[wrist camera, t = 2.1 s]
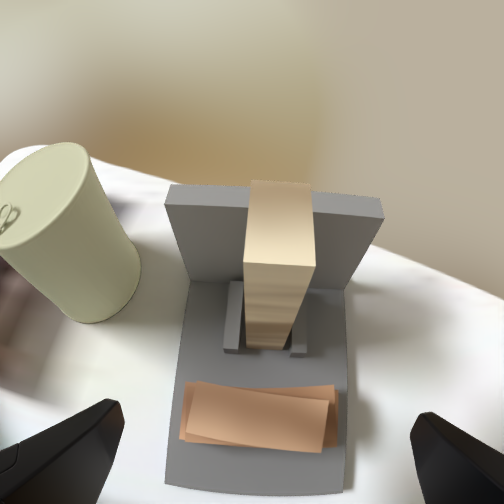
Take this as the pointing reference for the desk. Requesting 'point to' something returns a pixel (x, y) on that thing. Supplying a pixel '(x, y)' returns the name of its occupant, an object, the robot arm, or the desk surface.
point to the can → (67, 234)
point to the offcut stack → (260, 416)
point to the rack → (261, 360)
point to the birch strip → (276, 260)
